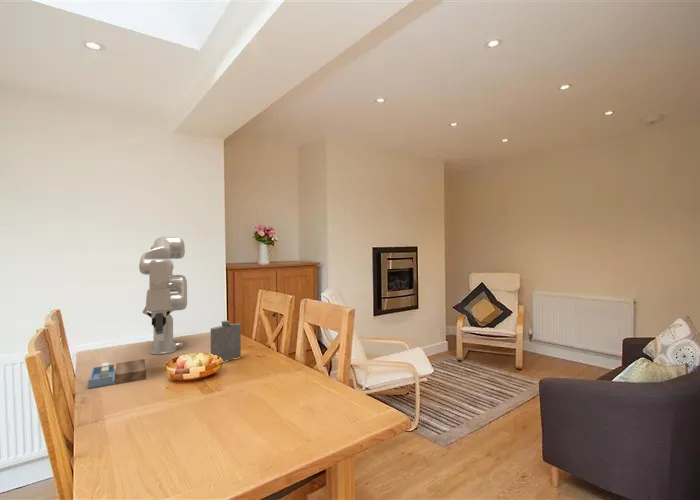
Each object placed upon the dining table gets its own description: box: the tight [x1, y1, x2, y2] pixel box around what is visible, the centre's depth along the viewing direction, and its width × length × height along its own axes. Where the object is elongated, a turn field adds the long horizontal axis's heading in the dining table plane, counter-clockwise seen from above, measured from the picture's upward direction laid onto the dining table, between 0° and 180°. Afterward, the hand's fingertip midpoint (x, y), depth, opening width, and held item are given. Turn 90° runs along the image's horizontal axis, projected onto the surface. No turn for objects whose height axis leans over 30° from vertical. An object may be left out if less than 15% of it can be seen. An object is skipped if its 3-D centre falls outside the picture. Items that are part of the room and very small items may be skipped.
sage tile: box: [101, 367, 109, 378], centre depth 151 cm, size 5×5×2 cm
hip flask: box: [210, 320, 242, 361], centre depth 180 cm, size 16×4×20 cm, turn 139°
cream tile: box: [101, 361, 110, 368], centre depth 157 cm, size 5×5×2 cm
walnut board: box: [115, 358, 147, 385], centre depth 159 cm, size 11×18×4 cm, turn 32°
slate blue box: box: [88, 364, 116, 389], centre depth 154 cm, size 8×18×4 cm, turn 32°
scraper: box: [153, 313, 164, 341], centre depth 165 cm, size 3×16×11 cm, turn 32°
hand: (158, 325), depth 165 cm, fingers closed on scraper, 3 cm apart
